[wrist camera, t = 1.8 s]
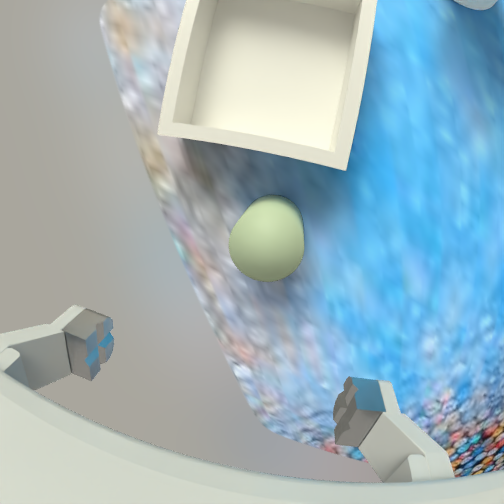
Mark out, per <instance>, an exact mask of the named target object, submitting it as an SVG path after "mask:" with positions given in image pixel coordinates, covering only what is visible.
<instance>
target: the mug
mask: <svg viewBox="0 0 504 504" xmlns="http://www.w3.org/2000/svg"><path fill="white" fill-rule="evenodd" d="M454 1H455V2H457V3H459V4H461V5H463V6H465V7H468V8H470V9H474V10H486V9H489V8H491V7H492V6H493V5H494V4H495V2H496V1H498V0H454Z"/></svg>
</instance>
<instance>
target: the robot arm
mask: <svg viewBox="0 0 504 504" xmlns="http://www.w3.org/2000/svg"><path fill="white" fill-rule="evenodd" d="M112 329H113V321H112V319H111V318H110V317H108V316H105V315H103V314H100V313H97V312H95V311H92V310H90V309H87V308H84V307H81V306H79V305H73V306H72V307H71V308H69V309H68V310H67V311H66V312H65V313H63V314H62V315H61V316H60V317H58V318H57V319H56V320H55V321H54V322H53V323H52V324H50V325H48V324H44V325H39V326H35V327H30V328H26V329H21V330H16V331H12V332H7V333H3V334H0V504H504V469H503V470H498V471H493V472H488V473H483V474H477V475H471V476H464V477H457V478H455V476H454V472H453V469H452V466H451V463H450V460H449V457H448V454H447V452H446V451H445V450H444V449H443V448H441V447H440V446H439V445H438V444H437V443H436V442H435V441H434V440H433V439H431V438H430V437H429V436H428V435H427V434H426V433H425V432H424V431H423V430H422V429H421V428H419V427H418V426H417V425H416V424H415V423H414V422H413V421H412V420H411V419H410V418H408V417H407V416H406V415H405V414H401V413H400V409H399V406H398V403H397V399H396V396H395V393H394V390H393V387H392V384H391V382H390V381H384V380H371V379H364V378H357V377H350V376H349V377H348V378H347V379H346V381H345V383H344V391H343V392H342V393H340V394H339V395H338V397H337V399H336V401H335V405H334V410H333V420H334V421H335V422H336V423H337V426H336V427H335V429H334V433H335V444H337V445H345V446H354V447H359V450H360V451H361V453H362V454H363V455H364V457H365V458H366V460H367V461H368V462H369V464H370V465H371V467H372V468H373V469H374V471H375V472H376V474H377V475H378V476H379V478H380V479H381V481H382V482H383V483H364V482H339V481H325V480H314V479H304V478H296V477H288V476H281V475H274V474H268V473H262V472H256V471H251V470H246V469H241V468H236V467H232V466H227V465H223V464H219V463H214V462H210V461H206V460H202V459H199V458H195V457H192V456H188V455H185V454H181V453H178V452H175V451H172V450H168V449H165V448H162V447H159V446H156V445H153V444H150V443H147V442H144V441H142V440H139V439H136V438H134V437H131V436H129V435H126V434H123V433H121V432H118V431H116V430H113V429H111V428H109V427H106V426H104V425H102V424H99V423H97V422H95V421H93V420H90V419H88V418H86V417H84V416H81V415H80V414H77V413H76V412H73V411H71V410H69V409H67V408H65V407H63V406H61V405H60V404H57V403H56V402H54V401H52V400H50V399H48V398H46V397H45V396H43V395H41V394H39V393H37V392H36V391H34V390H37V389H39V388H41V387H43V386H45V385H48V384H50V383H52V382H55V381H57V380H59V379H61V378H64V377H66V376H68V375H70V374H71V373H73V374H75V375H78V376H80V377H83V378H85V379H88V380H90V381H92V380H93V379H94V377H95V376H96V375H97V373H98V372H99V371H100V364H102V363H105V362H107V361H108V359H109V358H110V356H111V354H112V351H113V346H114V338H113V336H112V335H111V333H110V331H111V330H112Z"/></svg>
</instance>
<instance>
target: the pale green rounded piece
mask: <svg viewBox="0 0 504 504" xmlns="http://www.w3.org/2000/svg"><path fill="white" fill-rule="evenodd" d="M229 251H230V255H231V258H232V260H233V262H234V264H235V265H236V267H237V268H238V269H239V270H240V271H241V272H242V273H243V274H245V275H246V276H248V277H250V278H252V279H254V280H258V281H263V282H273V281H278V280H281V279H283V278H285V277H287V276H289V275H290V274H291V273H293V272H294V271H295V270H296V269H297V267H298V266H299V264H300V262H301V260H302V257H303V253H304V232H303V219H302V215H301V213H300V211H299V209H298V208H297V206H296V205H295V204H294V203H293V202H292V201H290V200H289V199H287V198H285V197H282V196H279V195H266V196H263V197H260V198H258V199H256V200H255V201H254V202H253V203H252V204H251V205H250V206H249V207H248V208H247V210H246V211H245V212H244V214H243V215H242V216H241V218H240V219H239V220H238V222H237V223H236V224H235V226H234V228H233V229H232V232H231V234H230V238H229Z"/></svg>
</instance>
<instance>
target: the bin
mask: <svg viewBox="0 0 504 504" xmlns="http://www.w3.org/2000/svg"><path fill="white" fill-rule="evenodd" d="M376 4H377V0H186V4H185V7H184V11H183V14H182V18H181V22H180V26H179V30H178V34H177V38H176V42H175V46H174V50H173V55H172V59H171V64H170V68H169V73H168V78H167V83H166V88H165V93H164V98H163V103H162V109H161V115H160V120H159V126H158V133H157V135H164V136H171V137H179V138H186V139H193V140H199V141H206V142H212V143H218V144H224V145H230V146H235V147H241V148H246V149H252V150H257V151H262V152H267V153H272V154H276V155H281V156H286V157H290V158H295V159H299V160H304V161H308V162H312V163H316V164H321V165H325V166H329V167H333V168H337V169H340V170H344V171H346V168H347V164H348V159H349V155H350V151H351V146H352V142H353V137H354V132H355V128H356V123H357V118H358V113H359V108H360V103H361V98H362V92H363V87H364V82H365V76H366V70H367V65H368V59H369V52H370V46H371V40H372V33H373V26H374V19H375V12H376Z"/></svg>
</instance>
